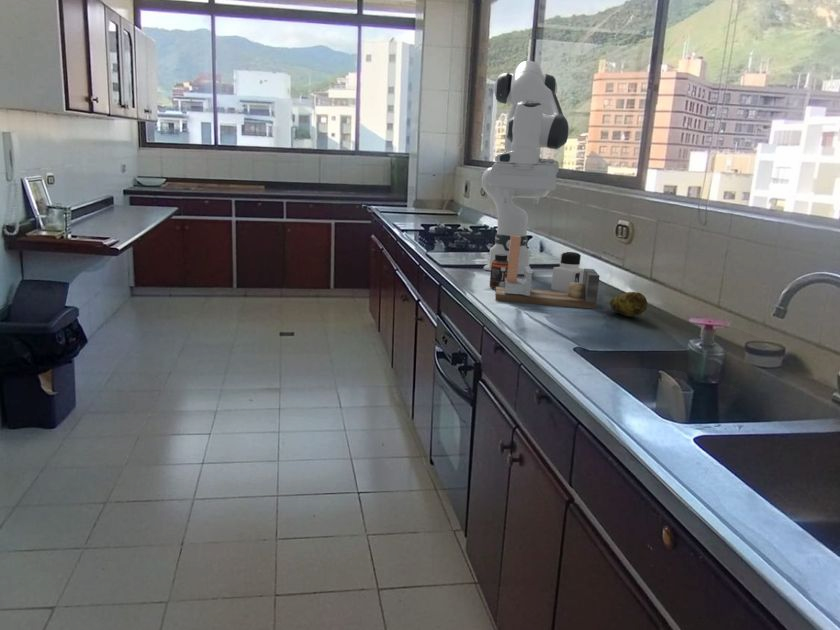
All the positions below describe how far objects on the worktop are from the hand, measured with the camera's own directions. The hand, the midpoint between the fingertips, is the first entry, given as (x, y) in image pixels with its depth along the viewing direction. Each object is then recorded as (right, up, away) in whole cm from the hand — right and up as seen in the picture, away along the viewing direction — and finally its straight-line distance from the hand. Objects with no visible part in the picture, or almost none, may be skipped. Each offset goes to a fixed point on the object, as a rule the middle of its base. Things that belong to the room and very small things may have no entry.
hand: (520, 204), depth 205 cm
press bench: (+8, -29, +5) cm, 31 cm away
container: (+19, -26, +22) cm, 39 cm away
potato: (+29, -35, -11) cm, 47 cm away
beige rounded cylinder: (+18, -28, +3) cm, 33 cm away
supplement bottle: (-4, -25, +19) cm, 32 cm away
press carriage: (0, -26, +5) cm, 27 cm away
